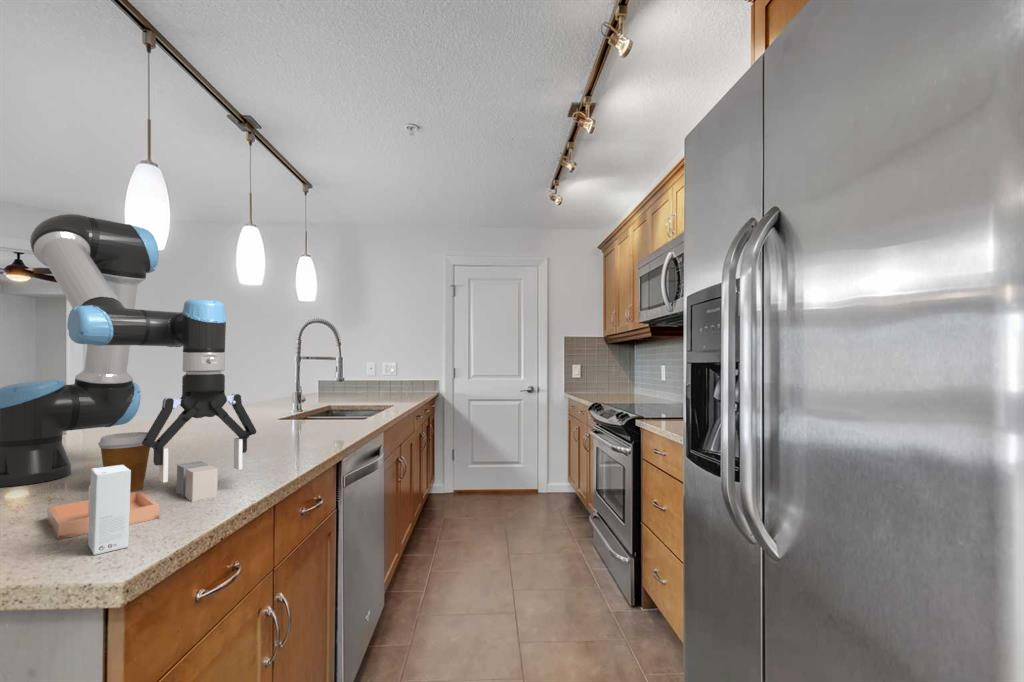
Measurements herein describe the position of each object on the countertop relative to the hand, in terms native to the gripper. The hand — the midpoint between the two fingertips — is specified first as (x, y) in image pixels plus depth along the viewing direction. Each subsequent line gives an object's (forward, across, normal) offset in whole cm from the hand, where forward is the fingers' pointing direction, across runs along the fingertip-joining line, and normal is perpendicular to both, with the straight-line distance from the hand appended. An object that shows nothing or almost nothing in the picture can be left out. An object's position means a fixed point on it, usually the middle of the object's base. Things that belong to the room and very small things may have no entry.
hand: (202, 474), depth 99 cm
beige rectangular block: (+5, 0, 0) cm, 5 cm away
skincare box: (+5, -18, -18) cm, 26 cm away
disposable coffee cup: (+5, -9, +19) cm, 22 cm away
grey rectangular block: (+5, 0, +6) cm, 8 cm away
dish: (+5, -16, -2) cm, 17 cm away
